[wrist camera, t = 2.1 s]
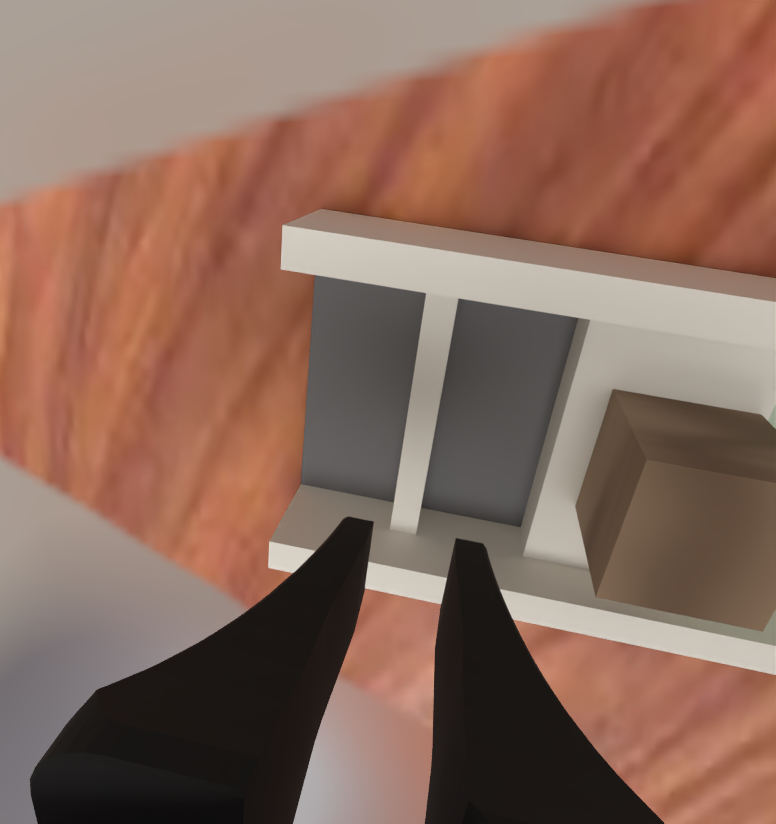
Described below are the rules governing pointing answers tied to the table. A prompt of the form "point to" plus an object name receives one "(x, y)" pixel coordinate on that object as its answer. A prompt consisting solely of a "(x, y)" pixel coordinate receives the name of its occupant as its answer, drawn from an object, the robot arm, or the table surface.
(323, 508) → the track
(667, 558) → the walnut block
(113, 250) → the table surface
